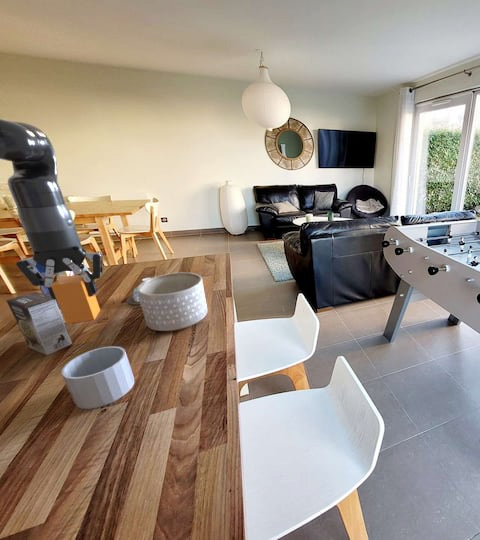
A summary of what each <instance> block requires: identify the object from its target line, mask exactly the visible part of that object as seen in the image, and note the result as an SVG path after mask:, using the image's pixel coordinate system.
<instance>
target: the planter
mask: <svg viewBox="0 0 480 540" xmlns="http://www.w3.org/2000/svg"><path fill="white" fill-rule="evenodd" d="M150 278H151V279H148V280H146V281H144V282H142V281H141V283H140V284H138V286H136V288H137V292H138V296H139V299H140V303H141V305H140V307H141V311H142V313H143V317H144V321H145V324H146V326H147V328H149V329H151V330H154V331H159V332H174V331H180V330H184V329H187V328H190V327H191V326H194V325H196V324H197V323H198V322H200V321H202V320H203V319H204V318H205V317H206V316H207V314H208V312H209V311H208V304H207V299H206V298H207V297H206V293H205V288H204V282H203V278H202V276H201V275H200V274H197V273H195V272H194V273H193V272H172V273H166V274H161V275H160V274H159V275H156V276H153V277H150Z"/></svg>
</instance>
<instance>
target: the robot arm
mask: <svg viewBox="0 0 480 540" xmlns="http://www.w3.org/2000/svg"><path fill="white" fill-rule="evenodd" d="M56 157H57V156H56V153H55V148H54V146H53V144H52V142H51V141H50V138H49V137H48V135H46V133H45V132H44V131H43V130H41V129H40V128H38V127H36V126H34V125H33V124H30V123H27V122H19V121H12V120H5V119H2V118H0V160H2V161H7V162H11V164H12V170H13V174H12V175H11V176H10V177H8V179H7V187H8V190H9V192H10V195H11V197H12V199H13V202H14V204H15V207H16V210H17V214H18V218H19V221H20V225H21V228H22V229H23V231H24V233H25V236H26V238H27V241H28V243H29V245H30V248H31V250H32V252H33V256H32V257H23V258H21V259H20V260H18V261H17V262H16V263H15V265H16V267H17V268H18V269H19V270H20V271H21V272H22V274H23V275H24V276H25V277H26V278H27V280H28V281H29V282H30V284H32V286H34V287H40V285H41V286H46V287H47V288H48V290H49V293H50V295H51V298H52V299H56V297H55V294H54V292H53V289H52V287H51V285H52V284H53V283H54V282H55V281H56V280H57V275H58V273H59V272H63V271H73V272H74V275H79V276H80V277H81V278H82V279H83V280H84V281H85V283H84V284H85V287H86V290H87V292H88V295H89V297H92V296H94V295H95V296H96V293H97V292H98V286H97V284H96V281H95V280H98V279H100V277H102V275H103V273H104V270H103V268H104V267H103V266H104V265H103V263H104V259H103V258H104V257H103V256H104V253H103V252H102V251H100V250H99V251H96V252H89V251H86V249H84V247H83V246H82V243H81V240H80V237H79V234H78V230H77V229H76V225H75V223H74V219H73V217H72V214H71V212H70V210H69V208H68V206H67V204H66V200H65V198H64V195H63V192H62V189H61V186H60V185H59V181H58V180H59V179H58V166H57V158H56ZM86 258H87V259H88V261H89V262H90V263H92V272H91V271H90V269H89V268H88V266H87V265H86V264H85V263H84V261H85V259H86ZM35 262H37V263H38V264H40V265H42V266H43V267H45V268H46V272H45V278H44V277H43V276H42V275H41V274H40V272H39V271H38V270H37V269H36V267H35V266H36V263H35ZM56 301H57V299H56Z"/></svg>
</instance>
